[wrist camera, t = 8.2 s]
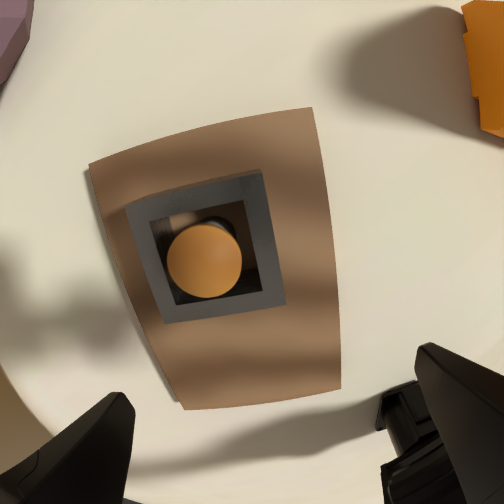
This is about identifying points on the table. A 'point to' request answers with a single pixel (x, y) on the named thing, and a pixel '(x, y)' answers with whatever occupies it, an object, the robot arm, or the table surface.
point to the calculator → (129, 501)
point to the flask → (13, 32)
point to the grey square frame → (161, 237)
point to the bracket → (486, 60)
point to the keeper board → (301, 253)
